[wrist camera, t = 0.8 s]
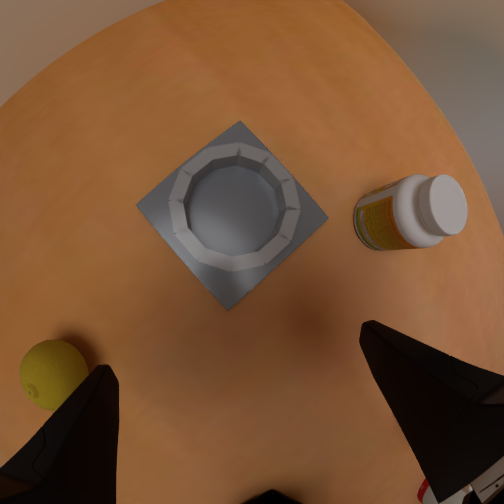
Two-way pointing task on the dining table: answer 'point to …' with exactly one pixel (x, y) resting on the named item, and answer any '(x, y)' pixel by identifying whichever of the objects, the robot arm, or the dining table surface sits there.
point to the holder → (232, 213)
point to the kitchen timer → (429, 499)
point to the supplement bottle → (411, 213)
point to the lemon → (52, 373)
